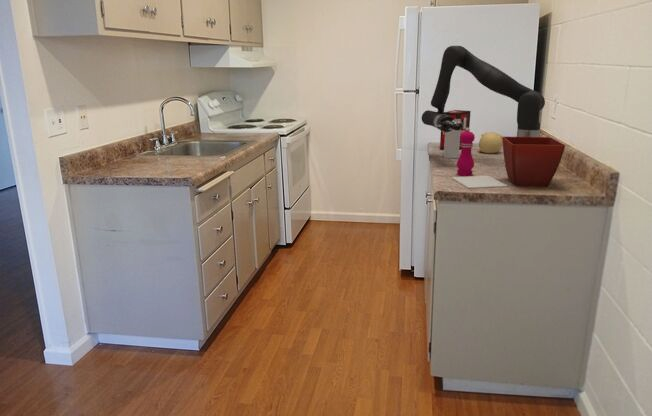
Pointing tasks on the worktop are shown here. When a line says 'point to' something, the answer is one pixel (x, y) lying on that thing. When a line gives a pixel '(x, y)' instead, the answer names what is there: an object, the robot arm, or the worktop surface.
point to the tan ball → (490, 142)
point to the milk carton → (452, 143)
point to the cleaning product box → (464, 118)
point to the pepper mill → (466, 154)
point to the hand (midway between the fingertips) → (458, 128)
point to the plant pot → (531, 159)
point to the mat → (478, 182)
